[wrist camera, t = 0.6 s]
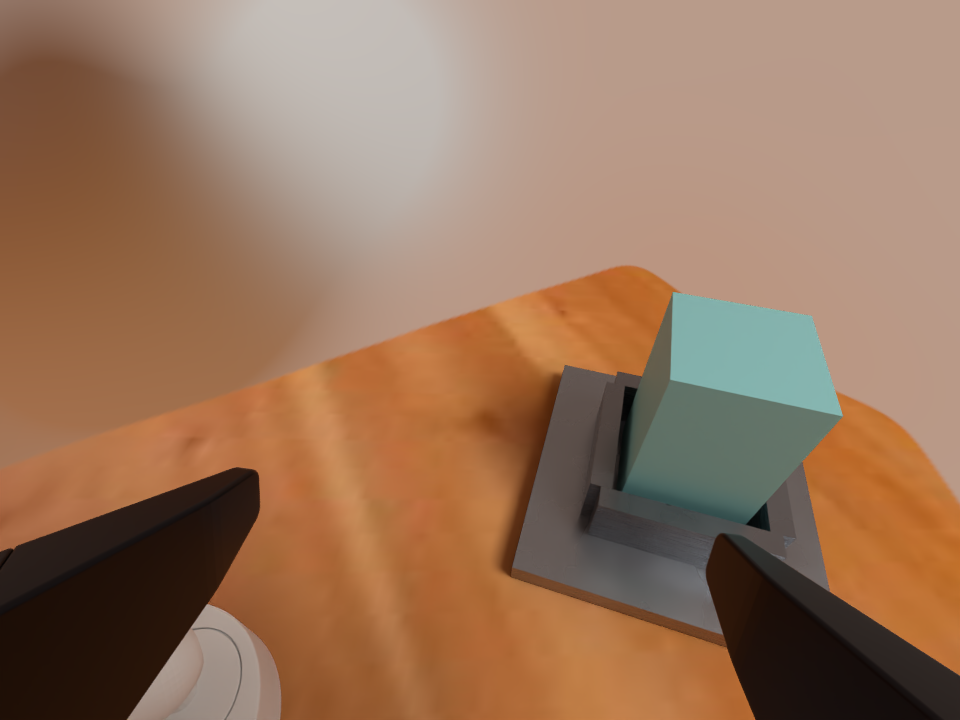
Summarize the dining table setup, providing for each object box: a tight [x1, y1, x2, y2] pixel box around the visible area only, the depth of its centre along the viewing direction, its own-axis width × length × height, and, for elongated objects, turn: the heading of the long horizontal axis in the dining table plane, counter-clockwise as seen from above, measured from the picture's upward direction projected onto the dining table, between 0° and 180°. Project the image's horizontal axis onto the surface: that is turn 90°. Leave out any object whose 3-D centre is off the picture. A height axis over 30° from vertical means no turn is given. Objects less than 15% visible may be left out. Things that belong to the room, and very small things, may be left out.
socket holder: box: [511, 365, 830, 647], centre depth 24 cm, size 14×14×4 cm
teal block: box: [616, 292, 843, 525], centre depth 21 cm, size 6×6×10 cm
